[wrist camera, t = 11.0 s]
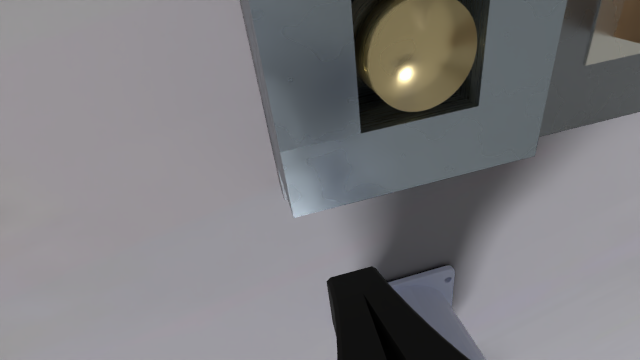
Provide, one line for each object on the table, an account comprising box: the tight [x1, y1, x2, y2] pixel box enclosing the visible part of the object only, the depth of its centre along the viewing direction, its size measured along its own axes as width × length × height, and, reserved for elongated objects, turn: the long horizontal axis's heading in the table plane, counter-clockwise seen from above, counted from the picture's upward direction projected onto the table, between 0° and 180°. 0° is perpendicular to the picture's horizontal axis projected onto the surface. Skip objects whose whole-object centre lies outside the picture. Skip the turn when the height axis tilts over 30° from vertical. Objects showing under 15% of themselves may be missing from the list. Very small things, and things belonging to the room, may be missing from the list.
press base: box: [240, 0, 640, 218], centre depth 16 cm, size 14×26×5 cm, turn 97°
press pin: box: [351, 0, 477, 112], centre depth 14 cm, size 4×4×3 cm
